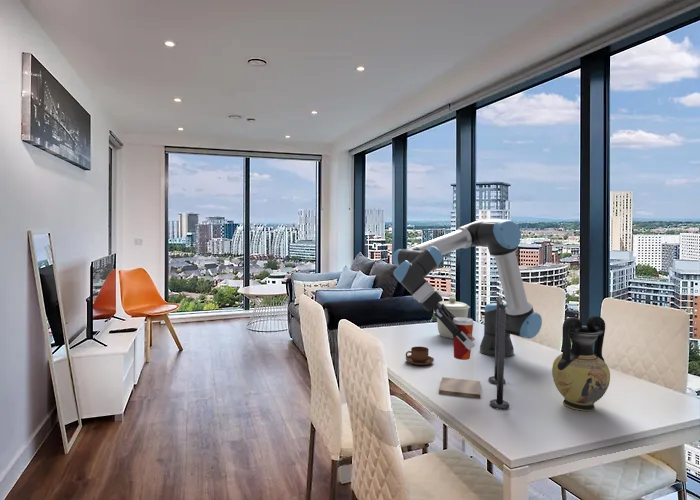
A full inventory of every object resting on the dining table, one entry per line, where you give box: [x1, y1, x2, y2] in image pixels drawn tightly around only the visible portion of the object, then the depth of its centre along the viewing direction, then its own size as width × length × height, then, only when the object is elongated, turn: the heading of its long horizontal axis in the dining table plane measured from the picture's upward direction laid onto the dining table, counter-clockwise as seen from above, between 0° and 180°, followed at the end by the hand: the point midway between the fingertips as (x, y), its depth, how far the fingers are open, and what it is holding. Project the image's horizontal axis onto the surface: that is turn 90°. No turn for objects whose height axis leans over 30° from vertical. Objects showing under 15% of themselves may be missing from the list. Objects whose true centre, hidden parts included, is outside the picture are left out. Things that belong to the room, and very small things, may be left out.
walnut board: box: [438, 376, 481, 399], centre depth 164 cm, size 14×14×1 cm
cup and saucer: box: [405, 346, 435, 366], centre depth 194 cm, size 12×12×6 cm
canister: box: [436, 296, 471, 339], centre depth 240 cm, size 18×18×21 cm
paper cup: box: [452, 317, 475, 361], centre depth 162 cm, size 8×8×14 cm
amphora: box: [551, 315, 611, 412], centre depth 149 cm, size 18×17×30 cm
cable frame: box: [488, 296, 510, 411], centre depth 159 cm, size 30×6×33 cm, turn 164°
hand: (472, 344), depth 162 cm, fingers closed on paper cup, 8 cm apart
